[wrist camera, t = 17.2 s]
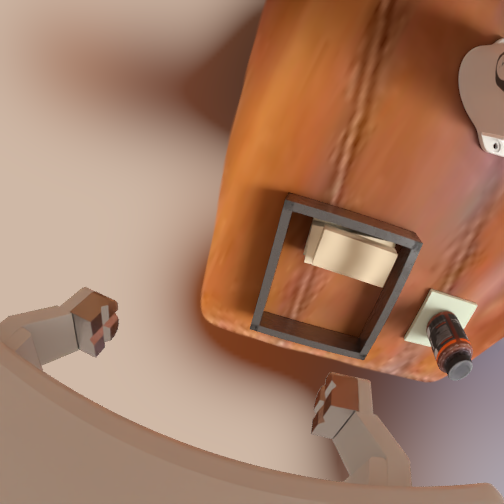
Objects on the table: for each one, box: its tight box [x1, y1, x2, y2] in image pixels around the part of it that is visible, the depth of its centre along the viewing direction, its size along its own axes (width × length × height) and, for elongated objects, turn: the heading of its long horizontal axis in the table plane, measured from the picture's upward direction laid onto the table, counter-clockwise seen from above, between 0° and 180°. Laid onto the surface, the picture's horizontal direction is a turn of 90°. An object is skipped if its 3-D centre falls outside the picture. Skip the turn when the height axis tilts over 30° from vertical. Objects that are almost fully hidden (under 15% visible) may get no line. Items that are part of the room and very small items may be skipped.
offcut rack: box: [250, 193, 423, 360], centre depth 44 cm, size 19×21×4 cm
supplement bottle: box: [426, 311, 473, 380], centre depth 39 cm, size 6×6×11 cm
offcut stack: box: [303, 217, 398, 288], centre depth 41 cm, size 12×6×6 cm, turn 79°
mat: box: [404, 289, 477, 347], centre depth 44 cm, size 10×10×1 cm
